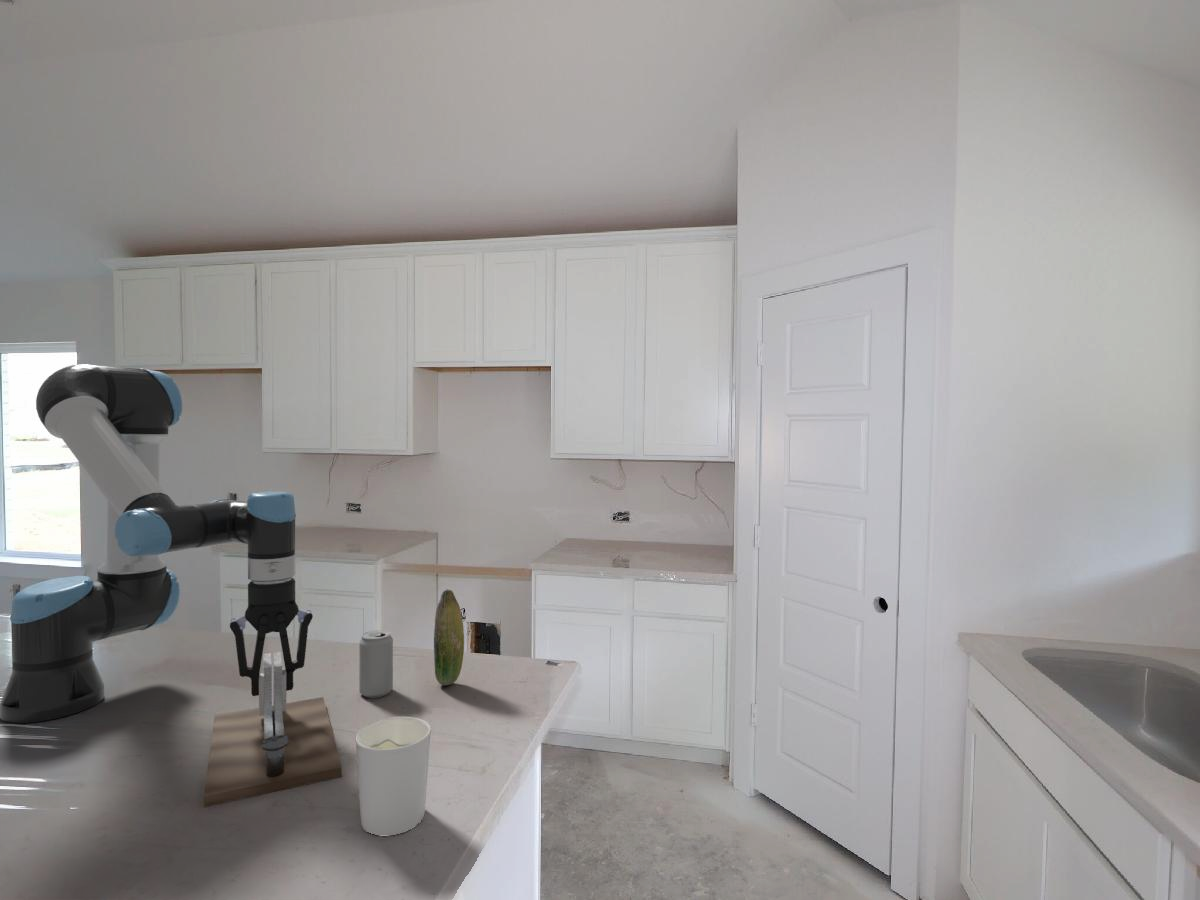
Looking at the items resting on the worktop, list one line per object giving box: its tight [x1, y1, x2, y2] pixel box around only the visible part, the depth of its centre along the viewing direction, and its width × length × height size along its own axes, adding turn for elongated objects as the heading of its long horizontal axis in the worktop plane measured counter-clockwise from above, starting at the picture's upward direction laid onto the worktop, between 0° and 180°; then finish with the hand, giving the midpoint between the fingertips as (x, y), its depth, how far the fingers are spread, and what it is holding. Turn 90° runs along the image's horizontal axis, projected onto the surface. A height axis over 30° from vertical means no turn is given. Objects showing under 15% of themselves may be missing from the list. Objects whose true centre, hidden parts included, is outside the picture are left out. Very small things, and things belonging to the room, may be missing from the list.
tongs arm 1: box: [262, 652, 273, 766], centre depth 109 cm, size 23×1×10 cm, turn 28°
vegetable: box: [433, 588, 465, 686], centre depth 135 cm, size 6×6×20 cm
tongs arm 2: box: [272, 651, 285, 762], centre depth 110 cm, size 23×1×10 cm, turn 28°
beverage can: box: [358, 629, 394, 699], centre depth 131 cm, size 6×6×12 cm
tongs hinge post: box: [262, 735, 289, 777], centre depth 97 cm, size 4×4×5 cm
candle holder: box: [355, 716, 432, 836], centre depth 89 cm, size 10×10×12 cm
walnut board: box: [203, 696, 342, 808], centre depth 108 cm, size 29×18×2 cm, turn 28°
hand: (272, 710), depth 116 cm, fingers open, 3 cm apart
